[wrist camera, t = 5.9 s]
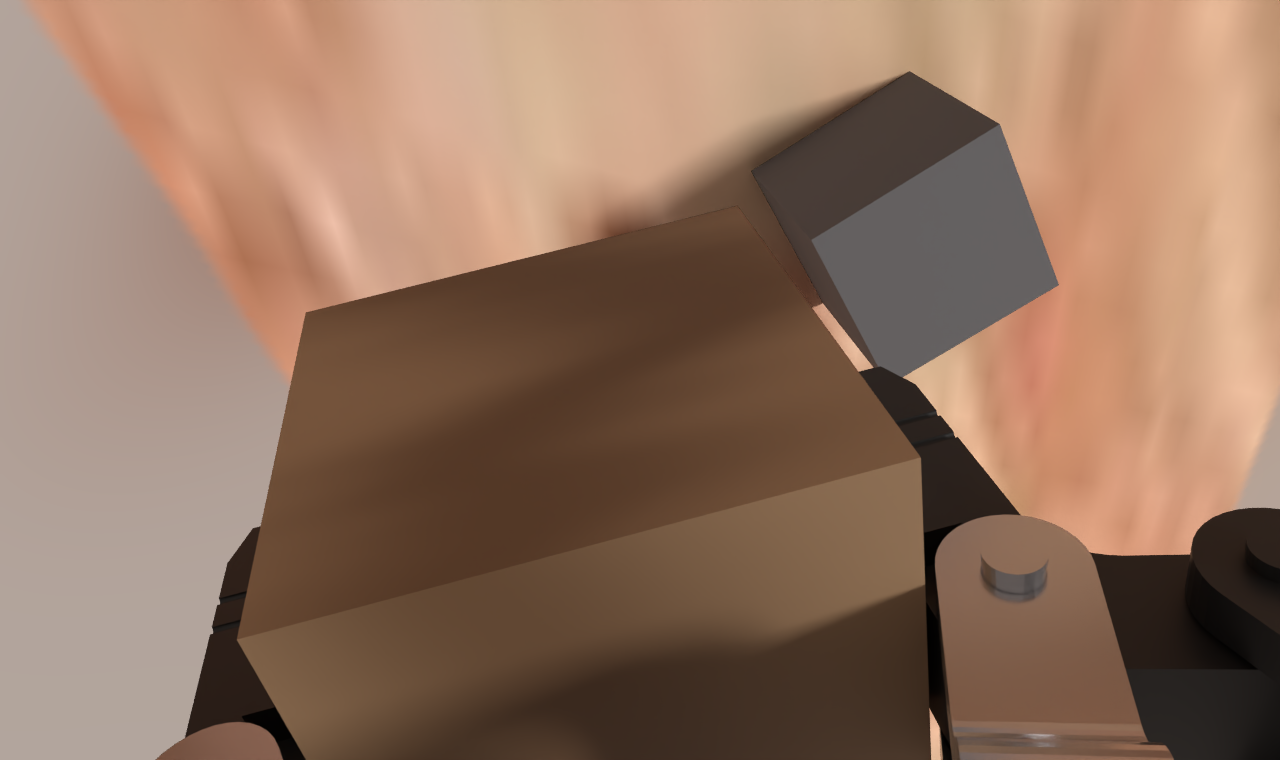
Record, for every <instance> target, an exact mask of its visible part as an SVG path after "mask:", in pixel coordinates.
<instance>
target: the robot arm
mask: <svg viewBox="0 0 1280 760" xmlns="http://www.w3.org/2000/svg"><path fill="white" fill-rule="evenodd" d="M859 373H860V375H861V376H862V377H863V379H864V380H865V381H866V383H867V384H868V386H869V387H870V388H871V390H872V391H873V392H874V394H875V395H876V397H877V398H878V399H879V401H880V402H881V403H882V405H883V406H884V408H885V409H886V410H887V412H888V413H889V414H890V416H891V417H892V419H893V420H894V421H895V423H896V424H897V425H898V427H899V428H900V430H901V431H902V432H903V434H904V435H905V436H906V438H907V439H908V441H909V442H910V443H911V445H912V446H913V447H914V449H915V450H916V452H917V453H918V454H919V456H920V457H921V476H922V506H923V535H924V565H925V595H926V624H927V654H928V683H929V708H930V710H931V712H932V714H933V715H934V717H935V719H936V721H937V723H938V725H939V728H940V756H941V760H1280V509H1272V508H1247V509H1238V510H1233V511H1230V512H1226V513H1223V514H1220V515H1218V516H1215V517H1213V518H1212V519H1210V520H1209V521H1207V522H1206V523H1204V524H1203V525H1202V526H1201V527H1200V528H1199V529H1198V531H1197V532H1196V534H1195V536H1194V538H1193V542H1192V547H1191V553H1190V555H1140V556H1117V555H1103V554H1096V553H1090V552H1089V551H1088V550H1087V548H1086V547H1085V546H1084V545H1083V544H1082V543H1081V542H1080V541H1079V540H1078V539H1077V538H1076V537H1075V536H1073V535H1072V534H1071V533H1069V532H1068V531H1066V530H1064V529H1063V528H1061V527H1059V526H1057V525H1055V524H1052V523H1050V522H1047V521H1044V520H1041V519H1037V518H1033V517H1028V516H1021V515H1020V514H1019V513H1018V511H1017V510H1016V509H1015V508H1014V506H1013V505H1012V504H1011V503H1010V501H1009V500H1008V499H1007V498H1006V496H1005V495H1004V494H1003V493H1002V491H1001V490H1000V489H999V488H998V486H997V485H996V484H995V483H994V481H993V480H992V479H991V478H990V476H989V475H988V474H987V473H986V471H985V470H984V469H983V468H982V467H981V465H980V464H979V463H978V462H977V460H976V459H975V458H974V457H973V455H972V454H971V453H970V452H969V450H968V449H967V448H966V447H965V445H964V444H963V443H962V442H961V440H960V439H959V438H958V437H957V438H955V436H954V432H953V430H952V429H951V428H950V427H949V425H948V424H947V423H946V422H945V421H944V419H943V418H942V417H941V416H938V415H937V412H936V409H935V408H934V407H933V406H932V404H931V403H930V402H929V401H928V399H927V398H926V397H925V396H924V394H923V393H922V392H921V391H920V389H919V388H918V387H917V386H916V384H914V383H912V382H910V381H908V380H906V379H904V378H902V377H900V376H898V375H896V374H895V373H893V372H891V371H889V370H887V369H885V368H883V367H881V366H880V367H876V368H872V369H868V370H864V371H860V372H859ZM260 527H261V526H260ZM260 527H257V528H253V529H252V530H251V532H250V533H249V535H248V536H247V537H246V539H245V540H244V541H243V543H242V544H241V546H240V547H239V548H238V550H237V551H236V552H235V554H234V555H233V557H232V558H231V559H230V561H229V562H228V563H227V568H226V572H225V576H224V580H223V584H222V588H221V593H220V597H219V599H220V605H217V609H216V613H215V617H214V621H213V625H212V628H213V634H211V635H210V637H209V641H208V646H207V650H206V654H205V659H204V662H203V666H202V670H201V674H200V678H199V683H198V687H197V691H196V695H195V699H194V703H193V707H192V711H191V715H190V719H189V723H188V728H187V732H186V736H185V738H184V739H183V740H181V741H179V742H178V743H176V744H174V745H173V746H172V747H170V748H169V749H168V750H166V751H165V752H164V753H162V754H161V755H160V756H159V757H158V758H157V759H156V760H306V759H305V757H304V755H303V754H302V752H301V750H300V748H299V747H298V745H297V743H296V741H295V740H294V738H293V736H292V735H291V733H290V731H289V729H288V728H287V726H286V724H285V722H284V721H283V719H282V717H281V715H280V714H279V712H278V710H277V709H276V707H275V705H274V703H273V702H272V700H271V698H270V696H269V695H268V693H267V691H266V689H265V688H264V686H263V684H262V683H261V681H260V679H259V677H258V676H257V674H256V672H255V670H254V669H253V667H252V665H251V663H250V662H249V660H248V658H247V657H246V655H245V653H244V651H243V650H242V648H241V646H240V644H239V643H238V641H237V636H238V632H239V627H240V622H241V617H242V613H243V608H244V603H245V598H246V594H247V589H248V584H249V579H250V575H251V570H252V565H253V561H254V556H255V551H256V546H257V542H258V537H259V532H260Z"/></svg>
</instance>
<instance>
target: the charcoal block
mask: <svg viewBox="0 0 1280 760" xmlns="http://www.w3.org/2000/svg"><path fill="white" fill-rule="evenodd" d="M751 172H752V174H753V175H754V177H755V179H756V181H757V183H758V185H759V186H760V188H761V190H762V192H763V194H764V196H765V197H766V199H767V201H768V203H769V205H770V207H771V208H772V210H773V212H774V214H775V216H776V218H777V219H778V221H779V223H780V225H781V227H782V229H783V231H784V232H785V234H786V236H787V238H788V240H789V242H790V243H791V245H792V247H793V249H794V251H795V253H796V254H797V256H798V258H799V260H800V262H801V264H802V265H803V267H804V269H805V271H806V273H807V275H808V276H809V278H810V280H811V282H812V284H813V286H814V288H815V289H816V291H817V293H818V295H819V297H820V299H821V300H822V302H823V304H824V305H825V306H826V308H827V309H828V310H829V311H830V313H831V314H832V315H833V316H834V318H835V319H836V320H837V322H838V323H839V324H840V325H841V327H842V328H843V329H844V330H845V332H846V333H847V334H848V336H849V337H850V338H851V339H852V341H853V342H854V343H855V344H856V346H857V347H858V348H859V349H860V351H861V352H862V353H863V355H864V356H865V357H866V358H867V360H868V361H869V362H870V363H871V365H872V366H873V367H874V368H876V367H880V366H881V367H883V368H885V369H887V370H889V371H891V372H893V373H895V374H896V375H898V376H900V377H904V376H905V375H907V374H909V373H911V372H912V371H914V370H916V369H917V368H919V367H921V366H922V365H924V364H926V363H928V362H929V361H931V360H933V359H934V358H936V357H938V356H939V355H941V354H943V353H944V352H946V351H948V350H950V349H951V348H953V347H955V346H956V345H958V344H960V343H961V342H963V341H965V340H966V339H968V338H970V337H972V336H973V335H975V334H977V333H978V332H980V331H982V330H983V329H985V328H987V327H989V326H990V325H992V324H994V323H995V322H997V321H999V320H1000V319H1002V318H1004V317H1005V316H1007V315H1009V314H1011V313H1012V312H1014V311H1016V310H1017V309H1019V308H1021V307H1022V306H1024V305H1026V304H1027V303H1029V302H1031V301H1033V300H1034V299H1036V298H1038V297H1039V296H1041V295H1043V294H1044V293H1046V292H1048V291H1050V290H1051V289H1053V288H1055V287H1056V286H1058V285H1059V284H1058V281H1057V279H1056V276H1055V273H1054V270H1053V268H1052V265H1051V262H1050V260H1049V257H1048V254H1047V251H1046V249H1045V246H1044V243H1043V241H1042V238H1041V235H1040V232H1039V230H1038V227H1037V224H1036V222H1035V219H1034V216H1033V213H1032V211H1031V208H1030V205H1029V203H1028V200H1027V197H1026V194H1025V192H1024V189H1023V186H1022V184H1021V181H1020V178H1019V175H1018V173H1017V170H1016V167H1015V164H1014V162H1013V159H1012V156H1011V154H1010V151H1009V148H1008V145H1007V143H1006V140H1005V137H1004V135H1003V132H1002V129H1001V126H1000V124H998V123H997V122H995V121H993V120H992V119H990V118H988V117H987V116H985V115H983V114H981V113H980V112H978V111H976V110H975V109H973V108H971V107H970V106H968V105H966V104H964V103H963V102H961V101H959V100H958V99H956V98H954V97H952V96H951V95H949V94H947V93H946V92H944V91H942V90H941V89H939V88H937V87H935V86H934V85H932V84H930V83H929V82H927V81H925V80H923V79H922V78H920V77H918V76H917V75H915V74H913V73H912V72H908V73H906V74H905V75H903V76H902V77H900V78H898V79H897V80H895V81H894V82H892V83H890V84H889V85H887V86H886V87H884V88H883V89H881V90H879V91H878V92H876V93H875V94H873V95H871V96H870V97H868V98H867V99H865V100H863V101H862V102H860V103H859V104H857V105H855V106H854V107H852V108H851V109H849V110H848V111H846V112H844V113H843V114H841V115H840V116H838V117H836V118H835V119H833V120H832V121H830V122H828V123H827V124H825V125H824V126H822V127H821V128H819V129H817V130H816V131H814V132H813V133H811V134H809V135H808V136H806V137H805V138H803V139H801V140H800V141H798V142H797V143H795V144H794V145H792V146H790V147H789V148H787V149H786V150H784V151H782V152H781V153H779V154H778V155H776V156H774V157H773V158H771V159H770V160H768V161H767V162H765V163H763V164H762V165H760V166H759V167H757V168H755V169H754V170H752V171H751Z"/></svg>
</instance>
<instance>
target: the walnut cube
mask: <svg viewBox="0 0 1280 760" xmlns="http://www.w3.org/2000/svg"><path fill="white" fill-rule="evenodd" d="M237 641H238V643H239V644H240V646H241V648H242V650H243V651H244V653H245V655H246V657H247V658H248V660H249V662H250V663H251V665H252V667H253V669H254V670H255V672H256V674H257V676H258V677H259V679H260V681H261V683H262V684H263V686H264V688H265V689H266V691H267V693H268V695H269V696H270V698H271V700H272V702H273V703H274V705H275V707H276V709H277V710H278V712H279V714H280V715H281V717H282V719H283V721H284V722H285V724H286V726H287V728H288V729H289V731H290V733H291V735H292V736H293V738H294V740H295V741H296V743H297V745H298V747H299V748H300V750H301V752H302V754H303V755H304V757H305V759H306V760H931V743H930V713H929V683H928V654H927V624H926V595H925V565H924V535H923V506H922V476H921V457H920V456H919V454H918V453H917V452H916V450H915V449H914V447H913V446H912V445H911V443H910V442H909V441H908V439H907V438H906V436H905V435H904V434H903V432H902V431H901V430H900V428H899V427H898V425H897V424H896V423H895V421H894V420H893V419H892V417H891V416H890V414H889V413H888V412H887V410H886V409H885V408H884V406H883V405H882V403H881V402H880V401H879V399H878V398H877V397H876V395H875V394H874V392H873V391H872V390H871V388H870V387H869V386H868V384H867V383H866V381H865V380H864V379H863V377H862V376H861V375H860V373H859V372H858V370H857V369H856V368H855V366H854V365H853V364H852V362H851V361H850V360H849V358H848V357H847V355H846V354H845V353H844V351H843V350H842V349H841V347H840V346H839V344H838V343H837V342H836V340H835V339H834V338H833V336H832V335H831V333H830V332H829V331H828V329H827V328H826V327H825V325H824V324H823V322H822V321H821V320H820V318H819V317H818V316H817V314H816V313H815V311H814V310H813V309H812V307H811V306H810V305H809V303H808V302H807V300H806V299H805V298H804V296H803V295H802V294H801V292H800V291H799V289H798V288H797V287H796V285H795V284H794V283H793V281H792V280H791V279H790V277H789V276H788V274H787V273H786V272H785V270H784V269H783V268H782V266H781V265H780V263H779V262H778V261H777V259H776V258H775V257H774V255H773V254H772V252H771V251H770V250H769V248H768V247H767V246H766V244H765V243H764V241H763V240H762V239H761V237H760V236H759V235H758V233H757V232H756V230H755V229H754V228H753V226H752V225H751V224H750V222H749V221H748V219H747V218H746V217H745V215H744V214H743V213H742V211H741V210H740V208H739V207H738V206H735V207H731V208H727V209H723V210H719V211H715V212H711V213H706V214H702V215H698V216H694V217H690V218H686V219H682V220H678V221H674V222H670V223H666V224H662V225H658V226H654V227H650V228H646V229H642V230H638V231H634V232H630V233H626V234H622V235H618V236H613V237H609V238H605V239H601V240H597V241H593V242H589V243H585V244H581V245H577V246H573V247H569V248H565V249H561V250H557V251H553V252H549V253H545V254H541V255H537V256H533V257H529V258H525V259H520V260H516V261H512V262H508V263H504V264H500V265H496V266H492V267H488V268H484V269H480V270H476V271H472V272H468V273H464V274H460V275H456V276H452V277H448V278H444V279H440V280H436V281H432V282H427V283H423V284H419V285H415V286H411V287H407V288H403V289H399V290H395V291H391V292H387V293H383V294H379V295H375V296H371V297H367V298H363V299H359V300H355V301H351V302H347V303H343V304H339V305H335V306H330V307H326V308H322V309H318V310H314V311H310V312H306V314H305V319H304V324H303V329H302V333H301V338H300V343H299V347H298V352H297V357H296V362H295V366H294V371H293V376H292V381H291V385H290V390H289V395H288V400H287V404H286V410H285V414H284V419H283V424H282V428H281V433H280V438H279V442H278V447H277V452H276V456H275V461H274V466H273V471H272V475H271V480H270V485H269V490H268V494H267V499H266V504H265V508H264V514H263V518H262V523H261V527H260V532H259V537H258V542H257V546H256V551H255V556H254V561H253V565H252V570H251V575H250V579H249V584H248V589H247V594H246V598H245V603H244V608H243V613H242V617H241V622H240V627H239V632H238V636H237Z"/></svg>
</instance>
